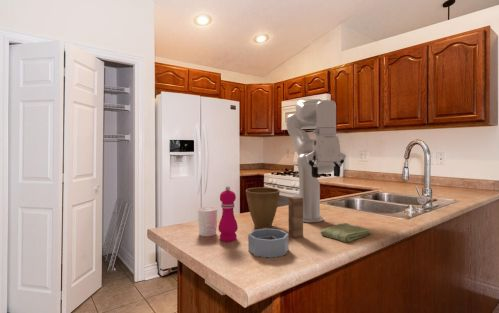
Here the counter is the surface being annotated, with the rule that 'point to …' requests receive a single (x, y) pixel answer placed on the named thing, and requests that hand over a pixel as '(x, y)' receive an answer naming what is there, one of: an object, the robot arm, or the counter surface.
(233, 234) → the pepper mill
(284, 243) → the grey pet bowl
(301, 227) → the brown wooden block
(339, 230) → the washcloth
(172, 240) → the counter surface
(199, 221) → the white cup
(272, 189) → the plant pot
